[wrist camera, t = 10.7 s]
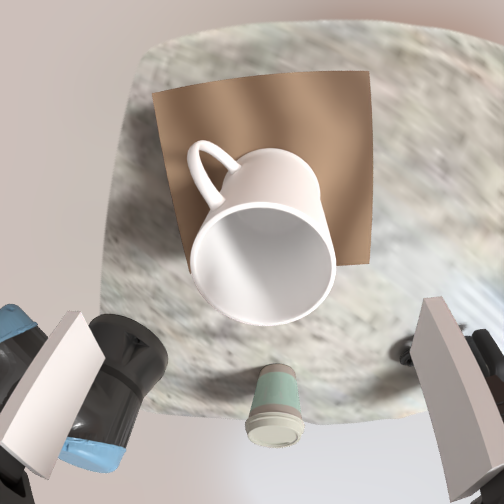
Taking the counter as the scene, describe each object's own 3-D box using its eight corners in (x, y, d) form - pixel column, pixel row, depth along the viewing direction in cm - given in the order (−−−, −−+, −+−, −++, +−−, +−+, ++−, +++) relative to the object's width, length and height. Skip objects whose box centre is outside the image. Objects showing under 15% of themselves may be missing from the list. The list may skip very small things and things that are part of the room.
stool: (204, 241, 39) (189, 273, 33) (176, 90, 30) (151, 93, 24) (356, 231, 36) (369, 263, 30) (351, 73, 28) (369, 71, 22)
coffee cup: (241, 375, 51) (231, 437, 41) (274, 350, 47) (270, 417, 37) (280, 395, 53) (277, 454, 43) (314, 372, 49) (317, 436, 39)
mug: (181, 151, 27) (118, 202, 16) (265, 96, 24) (251, 106, 13) (256, 254, 31) (241, 346, 21) (336, 211, 28) (364, 294, 18)
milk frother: (474, 362, 47) (501, 424, 34) (399, 387, 51) (414, 456, 38) (484, 307, 40) (524, 376, 28) (396, 336, 44) (420, 417, 31)
